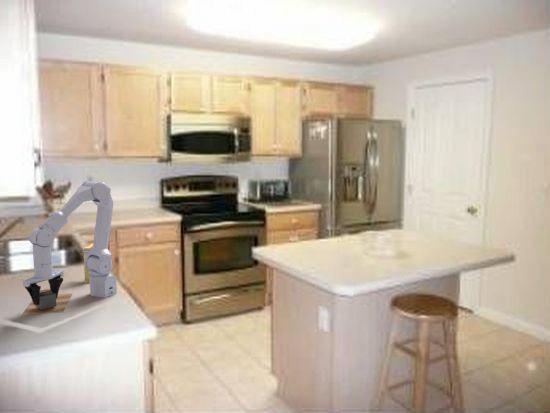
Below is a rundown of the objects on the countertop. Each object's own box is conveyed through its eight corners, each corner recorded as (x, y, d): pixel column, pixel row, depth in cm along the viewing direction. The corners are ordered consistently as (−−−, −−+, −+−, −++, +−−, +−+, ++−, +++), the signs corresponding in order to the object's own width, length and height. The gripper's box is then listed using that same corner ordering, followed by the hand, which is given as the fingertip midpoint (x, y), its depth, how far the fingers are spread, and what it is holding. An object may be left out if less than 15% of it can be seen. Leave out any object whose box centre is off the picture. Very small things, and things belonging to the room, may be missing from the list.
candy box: (93, 277, 204) (91, 243, 202) (102, 277, 204) (100, 243, 202) (84, 283, 195) (82, 247, 193) (94, 283, 195) (92, 247, 193)
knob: (50, 302, 167) (49, 287, 166) (56, 306, 164) (55, 291, 163) (35, 306, 163) (34, 291, 163) (41, 309, 160) (39, 294, 159)
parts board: (35, 298, 176) (35, 295, 176) (72, 295, 180) (72, 292, 180) (21, 318, 156) (20, 315, 156) (63, 315, 160) (63, 312, 159)
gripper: (52, 257, 169) (55, 293, 171) (15, 266, 156) (18, 305, 158) (66, 259, 167) (69, 296, 168) (30, 269, 154) (33, 309, 155)
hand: (45, 301), depth 163 cm, fingers open, 7 cm apart
